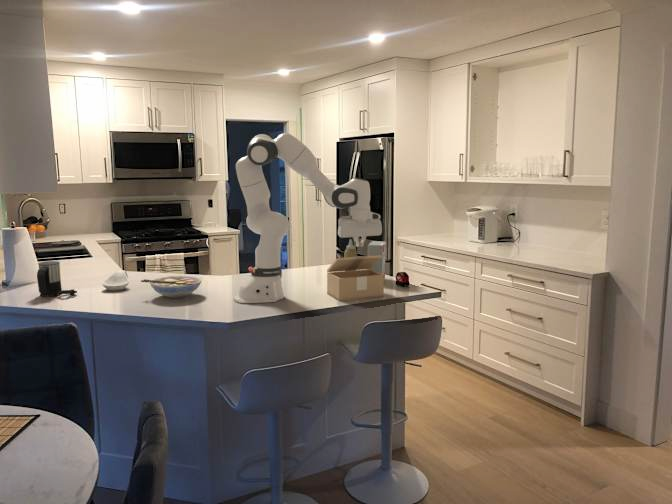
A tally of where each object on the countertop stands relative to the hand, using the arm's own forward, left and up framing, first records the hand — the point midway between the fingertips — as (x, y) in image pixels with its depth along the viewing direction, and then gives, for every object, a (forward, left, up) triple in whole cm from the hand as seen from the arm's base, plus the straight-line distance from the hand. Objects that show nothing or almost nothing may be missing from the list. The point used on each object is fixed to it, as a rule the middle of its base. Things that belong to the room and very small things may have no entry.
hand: (359, 246), depth 244 cm
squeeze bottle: (+20, +55, -24) cm, 63 cm away
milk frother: (-126, +54, -24) cm, 139 cm away
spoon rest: (-100, +62, -24) cm, 120 cm away
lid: (0, +6, -9) cm, 11 cm away
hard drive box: (+22, +27, -24) cm, 42 cm away
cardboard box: (0, +4, -23) cm, 24 cm away
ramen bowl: (-76, +32, -24) cm, 86 cm away
